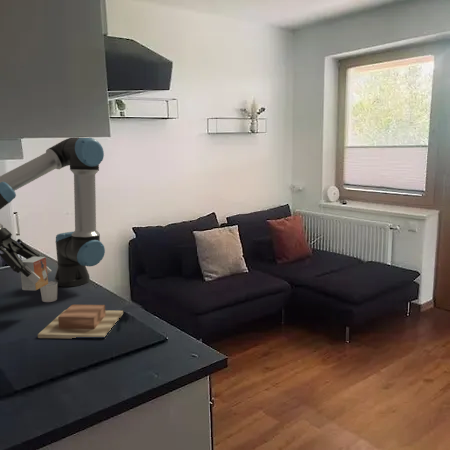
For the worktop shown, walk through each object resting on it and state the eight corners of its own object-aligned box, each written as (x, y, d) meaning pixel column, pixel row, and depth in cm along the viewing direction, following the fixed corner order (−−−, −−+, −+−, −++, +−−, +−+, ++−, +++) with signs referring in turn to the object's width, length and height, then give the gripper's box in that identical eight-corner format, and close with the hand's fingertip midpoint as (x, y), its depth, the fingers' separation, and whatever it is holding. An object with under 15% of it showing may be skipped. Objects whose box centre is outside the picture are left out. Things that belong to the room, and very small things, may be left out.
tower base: (65, 312, 168) (64, 299, 167) (123, 313, 167) (122, 300, 166) (37, 337, 146) (36, 322, 145) (104, 339, 145) (103, 323, 144)
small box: (35, 291, 160) (33, 262, 158) (21, 290, 161) (18, 261, 159) (48, 284, 168) (46, 256, 166) (35, 283, 169) (32, 256, 167)
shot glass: (36, 301, 180) (35, 285, 179) (48, 296, 187) (47, 280, 185) (51, 303, 178) (50, 286, 177) (62, 297, 185) (61, 281, 183)
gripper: (5, 235, 172) (49, 275, 175) (-29, 248, 151) (22, 294, 154) (17, 221, 171) (62, 262, 173) (-15, 233, 150) (36, 279, 152)
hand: (43, 277), depth 163 cm, fingers closed on small box, 9 cm apart
